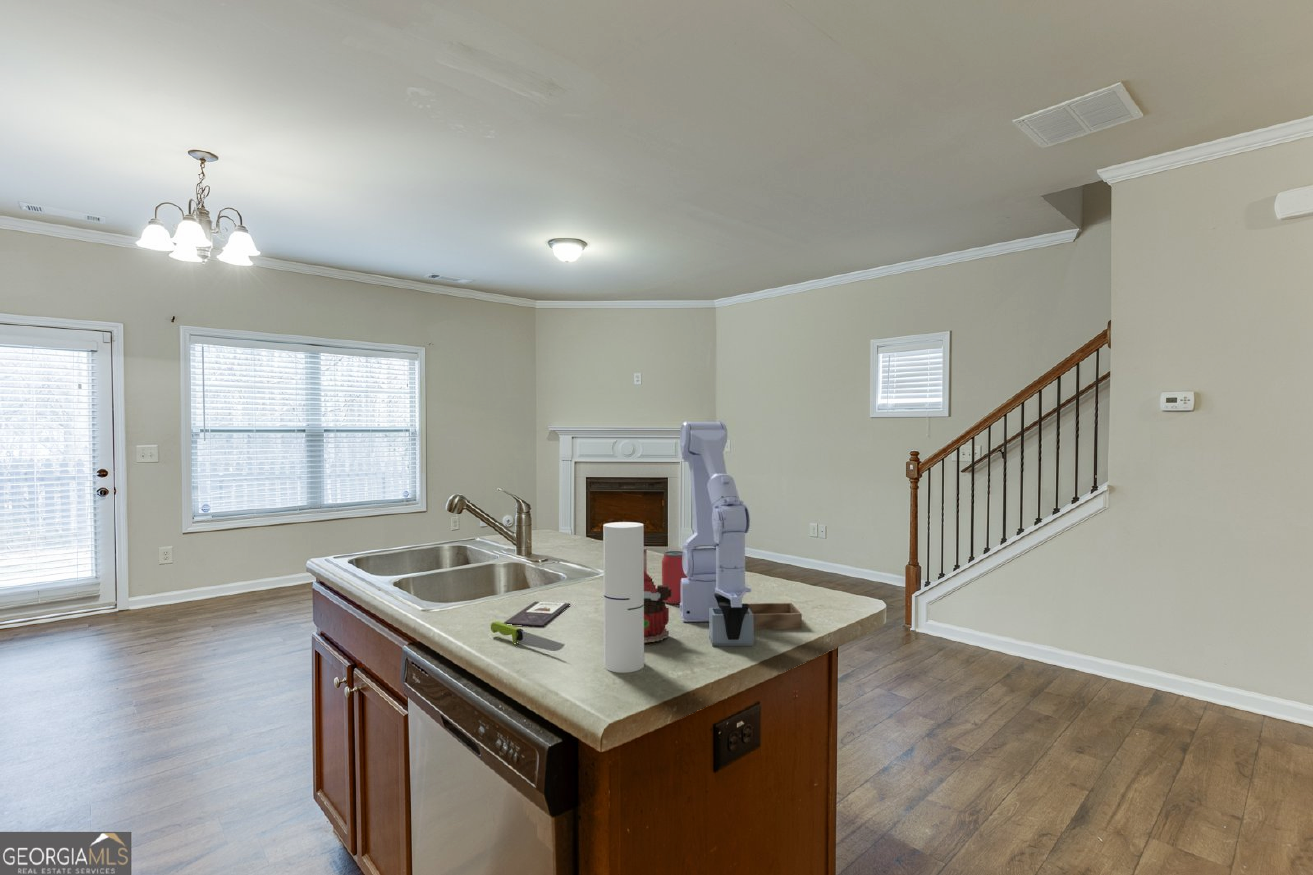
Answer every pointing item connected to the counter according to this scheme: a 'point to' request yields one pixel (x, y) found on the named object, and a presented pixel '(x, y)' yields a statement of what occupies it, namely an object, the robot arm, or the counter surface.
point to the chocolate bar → (537, 614)
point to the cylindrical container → (623, 596)
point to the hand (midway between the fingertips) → (730, 634)
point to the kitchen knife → (526, 637)
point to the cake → (654, 608)
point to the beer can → (673, 575)
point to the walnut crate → (775, 616)
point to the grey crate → (719, 630)
